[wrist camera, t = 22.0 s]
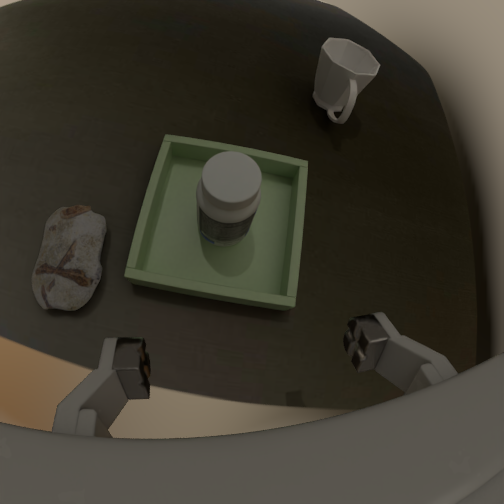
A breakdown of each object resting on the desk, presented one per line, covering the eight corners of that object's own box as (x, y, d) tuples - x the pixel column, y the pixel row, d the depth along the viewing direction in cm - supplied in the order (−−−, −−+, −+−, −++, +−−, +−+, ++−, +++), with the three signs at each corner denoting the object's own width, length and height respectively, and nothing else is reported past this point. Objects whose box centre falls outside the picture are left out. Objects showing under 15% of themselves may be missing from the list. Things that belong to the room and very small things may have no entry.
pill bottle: (258, 236, 28) (280, 194, 20) (208, 255, 27) (211, 218, 19) (236, 191, 29) (250, 138, 21) (189, 208, 28) (186, 157, 20)
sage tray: (285, 310, 27) (295, 307, 24) (131, 283, 26) (123, 276, 23) (299, 176, 31) (308, 161, 28) (167, 151, 30) (165, 133, 27)
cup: (350, 89, 37) (375, 48, 29) (358, 145, 34) (391, 103, 26) (301, 76, 36) (319, 30, 28) (302, 131, 33) (326, 82, 25)
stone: (103, 317, 24) (93, 314, 22) (34, 308, 23) (20, 304, 21) (114, 213, 27) (107, 201, 25) (49, 211, 26) (38, 200, 23)
